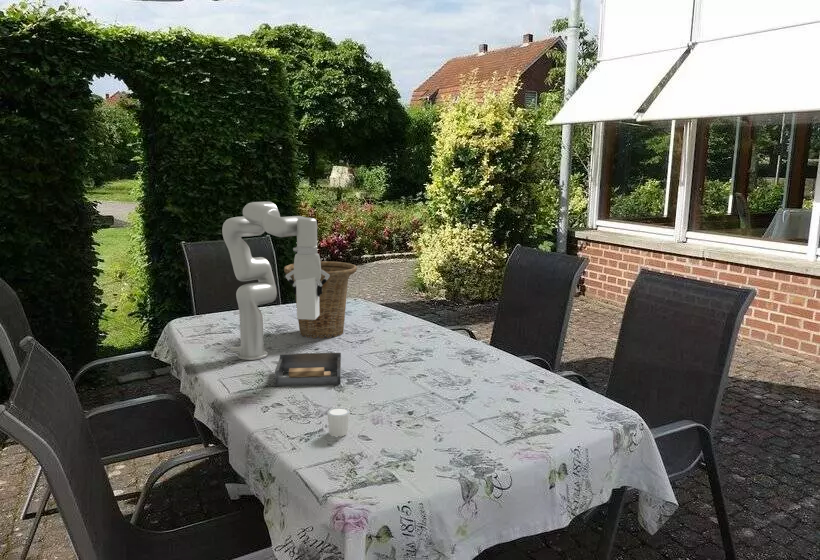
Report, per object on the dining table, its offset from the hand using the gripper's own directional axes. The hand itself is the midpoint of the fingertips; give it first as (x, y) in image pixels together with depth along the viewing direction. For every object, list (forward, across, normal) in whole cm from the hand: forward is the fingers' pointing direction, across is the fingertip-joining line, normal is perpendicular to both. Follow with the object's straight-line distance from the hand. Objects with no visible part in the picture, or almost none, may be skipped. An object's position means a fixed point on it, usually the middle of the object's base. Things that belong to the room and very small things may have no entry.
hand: (308, 295), depth 238 cm
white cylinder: (+32, +12, -56) cm, 65 cm away
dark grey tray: (+32, 0, -3) cm, 32 cm away
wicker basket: (+32, +2, +64) cm, 72 cm away
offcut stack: (+32, 0, -8) cm, 33 cm away
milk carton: (+9, 0, 0) cm, 9 cm away
